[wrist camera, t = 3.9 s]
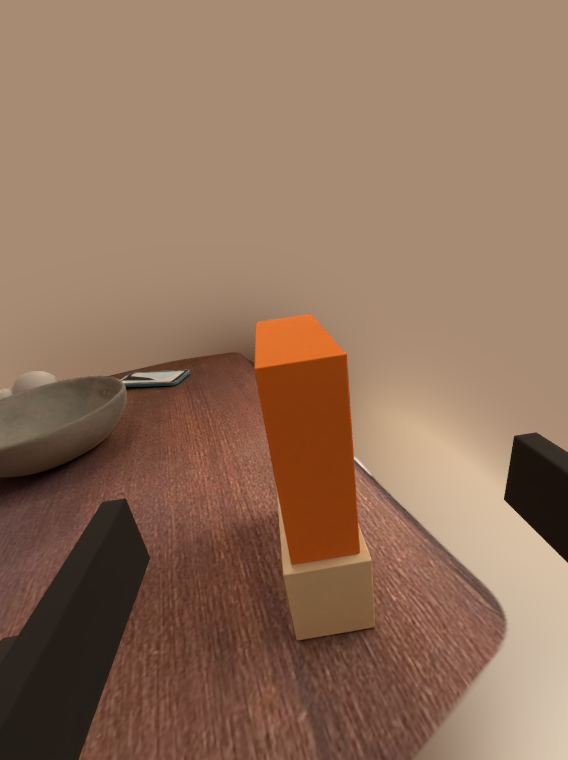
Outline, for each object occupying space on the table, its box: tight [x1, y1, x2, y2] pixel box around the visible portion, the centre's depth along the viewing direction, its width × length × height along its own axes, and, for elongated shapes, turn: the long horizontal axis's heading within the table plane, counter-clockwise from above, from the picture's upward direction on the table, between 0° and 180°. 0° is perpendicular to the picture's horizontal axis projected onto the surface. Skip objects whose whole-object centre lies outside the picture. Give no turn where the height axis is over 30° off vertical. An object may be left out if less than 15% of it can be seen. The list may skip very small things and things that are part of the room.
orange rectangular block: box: [254, 314, 360, 565], centre depth 20 cm, size 10×4×12 cm, turn 4°
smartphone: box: [120, 370, 190, 387], centre depth 70 cm, size 7×1×15 cm
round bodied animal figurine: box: [0, 371, 59, 400], centre depth 58 cm, size 7×12×8 cm, turn 125°
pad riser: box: [276, 487, 375, 641], centre depth 24 cm, size 11×5×6 cm, turn 4°
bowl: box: [0, 376, 127, 477], centre depth 44 cm, size 21×21×8 cm
